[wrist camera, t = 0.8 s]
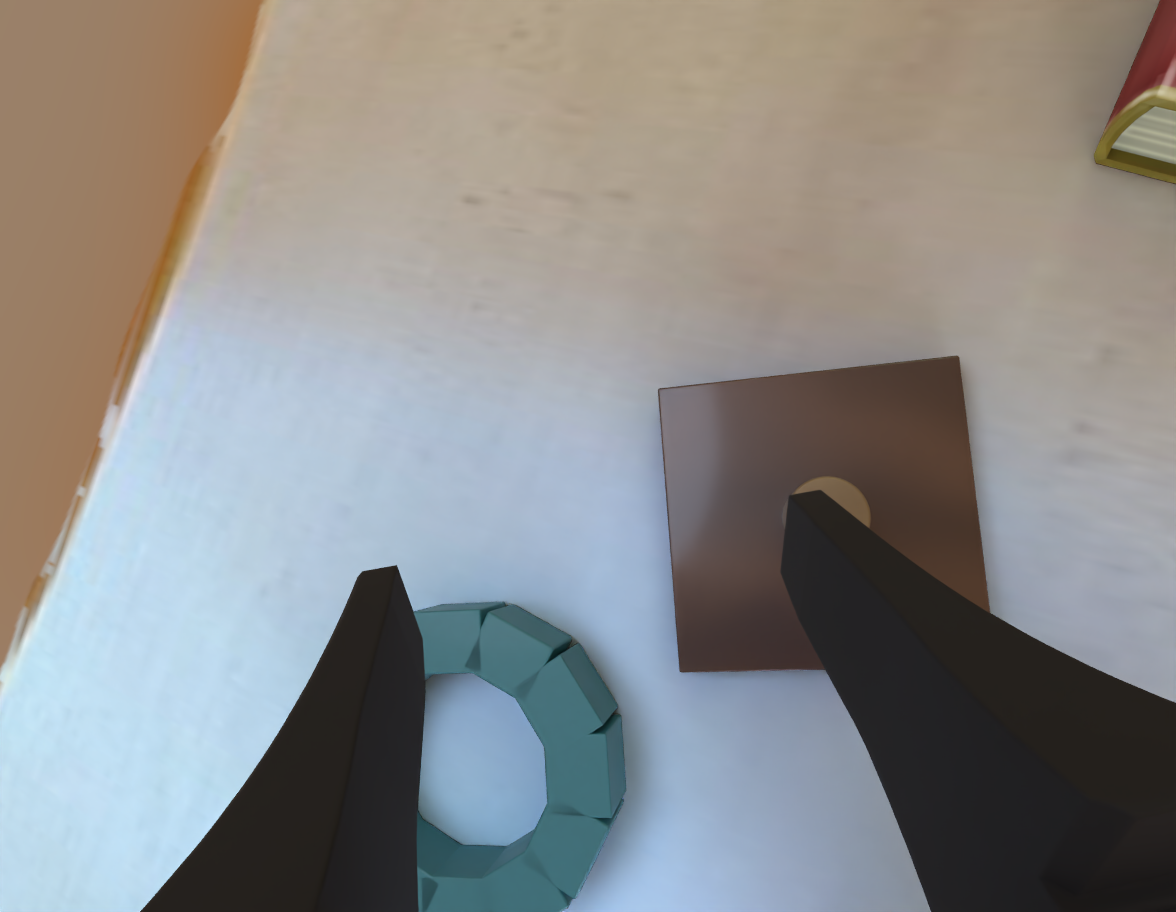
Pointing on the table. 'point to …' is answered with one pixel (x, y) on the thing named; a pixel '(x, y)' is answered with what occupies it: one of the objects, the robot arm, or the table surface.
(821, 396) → the stand
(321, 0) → the table surface
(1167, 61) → the hardcover book
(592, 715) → the ring
